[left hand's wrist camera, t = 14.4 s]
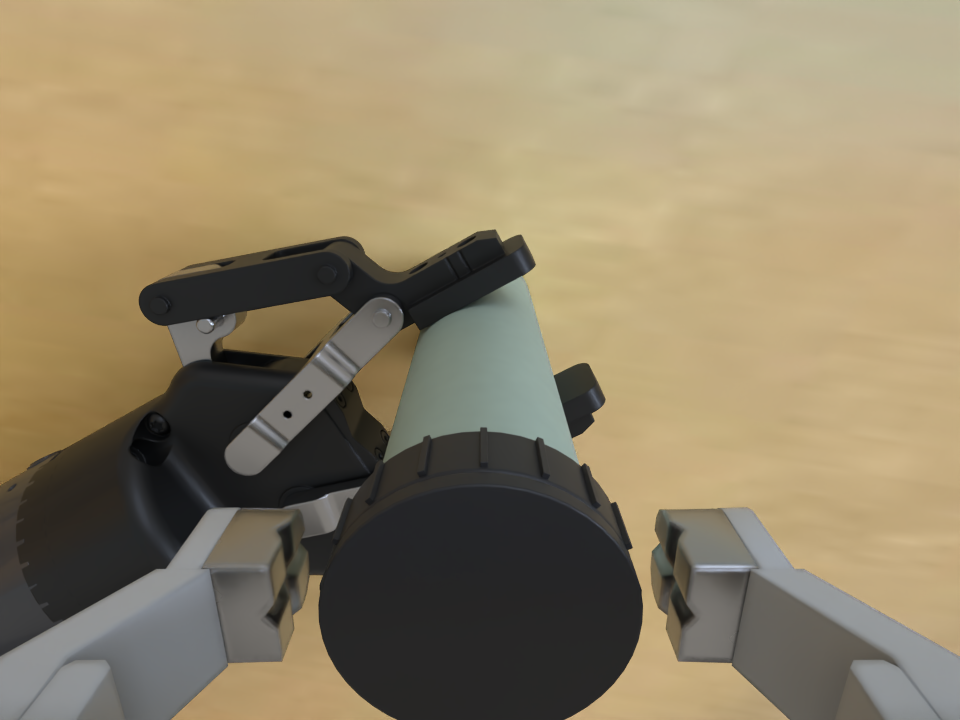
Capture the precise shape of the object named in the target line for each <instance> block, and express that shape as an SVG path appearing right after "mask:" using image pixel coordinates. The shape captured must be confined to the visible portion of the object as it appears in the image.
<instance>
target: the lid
mask: <svg viewBox="0 0 960 720" xmlns="http://www.w3.org/2000/svg"><path fill="white" fill-rule="evenodd" d="M331 543H332V544H334V546H333V548H332V551H331V554H330V557H329V560H328V563H327V566H326V569H325V571H324V574H323V577H322V580H321V583H320V597H319V624H320V629H321V634H322V639H323V641H324V644H325V647H326V649H327V652H328V655H329V657H330V658H331V660H332V662H333V664H334V666H335V667H336V669H337V670H338V672H339V673H340V674H341V676H342V677H343V678H344V680H345V681H346V682H347V683H348V684H349V685H350V686H351V687H352V688H353V689H354V690H355V691H356V692H357V693H358V695H360V696H361V697H362V698H363V699H365V700H366V701H367V702H368V703H370V704H371V705H372V706H374V707H375V708H377V709H379V710H380V711H382V712H384V713H385V714H387V715H388V716H390V717H393V718H395V719H397V720H565V719H567V718H569V717H571V716H573V715H575V714H576V713H578V712H580V711H581V710H583V709H585V708H586V707H588V706H589V705H590V704H592V703H593V702H594V701H595V700H597V699H598V698H599V697H601V696H602V695H603V694H604V693H605V692H606V691H607V690H608V689H609V688H610V687H611V686H612V685H613V684H614V683H615V681H616V680H617V679H618V678H619V676H620V675H621V674H622V672H623V671H624V670H625V668H626V666H627V664H628V663H629V661H630V659H631V657H632V656H633V653H634V650H635V648H636V645H637V643H638V640H639V635H640V630H641V626H642V615H643V603H642V595H641V594H642V590H641V587H640V584H639V581H638V578H637V575H636V572H635V569H634V566H633V563H632V560H631V558H630V554H629V551H628V550H629V549H632V548H633V547H632V544H631V542H630V539H629V536H628V533H627V530H626V528H625V525H624V522H623V519H622V516H621V514H620V511H619V508H618V506H617V503H616V502H614V503H610V501H609V499H608V497H607V495H606V494H605V492H604V491H603V490H602V488H601V487H600V485H599V484H598V483H597V482H596V480H595V479H594V478H593V477H592V474H591V471H590V468H589V466H587V465H586V464H583V465H582V466H580V465H579V464H578V463H576V462H575V461H574V460H573V459H571V458H569V457H568V456H566V455H564V454H563V453H561V452H560V451H558V450H556V449H554V448H552V447H550V446H547V445H545V444H544V440H543V439H542V438H539V437H537V438H536V440H532V439H529V438H526V437H522V436H518V435H513V434H507V433H502V432H488V431H487V427H480V431H474V432H460V433H454V434H448V435H442V436H439V437H436V438H432V439H431V437H430V435H428V436H424V437H423V442H421V443H418V444H416V445H414V446H412V447H409V448H407V449H405V450H403V451H402V452H400V453H398V454H397V455H395V456H393V457H392V458H390V459H389V460H388V461H386V462H385V463H384V462H383V461H382V460H380V461H378V462H377V463H376V466H375V469H374V472H373V473H372V474H371V475H370V476H369V477H368V479H367V480H366V481H365V482H364V483H363V484H362V486H361V487H360V489H359V490H358V491H357V493H356V494H355V496H354V497H353V499H351V498H349V497H348V498H347V500H346V502H345V504H344V507H343V510H342V513H341V516H340V519H339V521H338V524H337V527H336V530H335V533H334V535H333V538H332V541H331Z"/></svg>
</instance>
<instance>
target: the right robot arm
mask: <svg viewBox="0 0 960 720" xmlns="http://www.w3.org/2000/svg"><path fill="white" fill-rule="evenodd" d="M535 265H536V264H535V261H534V259H533V256H532V254H531V252H530V250H529V248H528V246H527V245H526V243H525V241H524V239H523V237H522V235H517V236H514V237H512V238H509V239H507V240H506V241H504V242H502V241H501V239H500V237H499V235H498V233H497V232H496V230H487V231H479V232H476V233H474V234H472V235H471V236H469V237H467V238H465V239H463V240H462V241H460V242H458V243H456V244H454V245H453V246H451V247H449V248H448V249H445V250H444V251H442V252H440V253H438V254H436V255H435V256H433V257H431V258H429V259H427V260H426V261H424V262H422V263H420V264H418V265H417V266H415V267H413V268H411V269H409V270H407V271H404V272H390V271H387V270H385V269H383V268H381V267H380V266H379V265H377V264H376V263H375V262H374V261H373V260H371V259H370V258H369V257H368V256H366V255H365V252H364V249H363V247H362V246H361V244H360V243H359V242H358V241H357V240H355V239H353V238H351V237H347V236H342V237H336V238H331V239H325V240H320V241H315V242H310V243H304V244H299V245H294V246H289V247H283V248H278V249H273V250H268V251H262V252H257V253H252V254H247V255H241V256H236V257H231V258H226V259H220V260H215V261H210V262H205V263H199V264H194V265H190V266H187V267H185V268H183V269H181V270H179V271H177V272H174V273H172V274H170V275H168V276H166V277H164V278H162V279H160V280H158V281H157V282H155V283H153V284H151V285H149V286H147V287H145V288H144V289H143V290H142V292H141V293H140V296H139V306H140V309H141V311H142V313H143V314H144V316H145V317H146V318H147V319H148V320H150V321H151V322H153V323H155V324H157V325H162V326H168V329H169V331H170V334H171V336H172V339H173V341H174V344H175V347H176V349H177V352H178V354H179V357H180V359H181V362H182V365H183V368H181V369H180V370H179V371H178V372H177V373H176V375H175V376H174V377H173V379H172V381H171V384H170V386H169V388H168V390H167V391H166V393H164V394H162V395H160V396H158V397H157V398H155V399H153V400H151V401H150V402H148V403H146V404H144V405H142V406H141V407H139V408H137V409H135V410H133V411H132V412H130V413H128V414H126V415H124V416H123V417H121V418H119V419H117V420H116V421H114V422H112V423H110V424H108V425H107V426H105V427H103V428H101V429H99V430H98V431H96V432H94V433H92V434H91V435H89V436H87V437H85V438H83V439H82V440H80V441H78V442H76V443H74V444H73V445H71V446H69V447H67V448H65V449H64V450H60V451H57V452H54V453H52V454H49V455H47V456H45V457H43V458H41V459H39V460H37V461H35V462H34V463H32V464H31V465H30V467H28V468H27V470H26V471H24V472H23V473H21V474H19V475H17V476H16V477H14V478H12V479H10V480H9V481H7V482H6V483H4V484H2V485H1V486H0V656H2V655H4V654H6V653H7V652H9V651H11V650H13V649H14V648H16V647H18V646H20V645H22V644H23V643H25V642H27V641H29V640H31V639H32V638H34V637H36V636H38V635H39V634H41V633H43V632H45V631H47V630H48V629H50V628H52V627H54V626H56V625H57V624H59V623H61V622H63V621H64V620H66V619H68V618H70V617H72V616H73V615H75V614H77V613H79V612H81V611H82V610H84V609H86V608H88V607H90V606H91V605H93V604H95V603H97V602H98V601H100V600H102V599H104V598H106V597H107V596H109V595H111V594H113V593H115V592H116V591H118V590H120V589H122V588H123V587H125V586H127V585H129V584H131V583H132V582H134V581H136V580H138V579H140V578H141V577H143V576H145V575H147V574H149V573H150V572H152V571H154V570H156V569H166V568H167V566H168V565H169V564H170V562H171V561H172V559H173V558H174V556H175V555H176V554H177V552H178V551H179V549H180V548H181V547H182V545H183V544H184V542H185V541H186V540H187V538H188V537H189V535H190V534H191V533H192V531H193V530H194V528H195V527H196V525H197V524H198V523H199V521H200V520H201V518H202V517H203V516H204V514H205V513H206V512H207V511H208V510H209V509H212V508H281V509H300V511H301V512H302V513H303V518H304V524H305V532H304V534H303V537H302V539H301V542H300V544H301V545H302V546H303V547H304V548H305V549H306V550H307V551H308V556H309V575H323V574H324V571H325V569H326V566H327V563H328V560H329V557H330V554H331V551H332V548H333V546H334V544H332V543H331V541H332V538H333V535H334V533H335V530H336V527H337V524H338V521H339V519H340V516H341V513H342V510H343V507H344V504H345V502H346V500H347V498H348V497H349V498H351V499H353V497H354V496H355V494H356V493H357V491H358V490H359V489H360V487H361V486H362V484H363V483H364V482H365V481H366V480H367V479H368V477H369V476H370V475H371V474H372V473H373V472H374V469H375V466H376V463H377V462H378V461H380V460H382V461H383V459H384V456H385V452H386V449H387V445H388V442H389V438H390V435H391V431H386V430H385V428H384V427H383V426H382V424H381V423H380V422H378V421H377V420H376V419H375V418H374V417H373V416H372V415H370V414H369V413H368V412H367V411H366V410H365V409H364V407H363V405H362V402H361V399H360V396H359V393H358V390H357V388H356V386H355V384H354V383H353V381H352V379H353V378H354V377H355V375H356V374H357V373H358V372H359V371H360V369H361V368H362V367H363V366H365V365H366V364H367V363H368V362H369V361H370V360H371V359H372V358H373V357H374V356H375V355H376V354H377V353H378V352H379V351H380V350H381V349H382V348H383V347H384V346H385V345H386V344H387V343H388V342H389V341H390V340H391V339H392V338H393V337H394V336H395V335H396V334H397V333H398V332H399V331H400V330H402V329H404V328H406V327H408V326H409V325H411V324H413V323H416V325H417V327H418V328H419V330H422V329H424V328H426V327H428V326H429V325H431V324H433V323H435V322H437V321H439V320H440V319H442V318H444V317H445V316H447V315H449V314H452V313H454V312H456V311H457V310H459V309H461V308H463V307H465V306H467V305H469V304H471V303H472V302H474V301H476V300H478V299H480V298H482V297H484V296H486V295H487V294H489V293H491V292H493V291H495V290H497V289H499V288H501V287H502V286H504V285H506V284H508V283H510V282H512V281H514V280H516V279H517V278H519V277H521V276H523V275H525V274H526V273H528V272H529V271H530V270H532V269H533V268H534V267H535ZM326 296H331V297H332V298H334V299H335V300H336V301H337V302H339V303H340V304H341V305H343V306H344V307H345V308H346V309H348V310H349V311H350V313H349V314H348V315H347V316H346V317H344V318H343V319H342V320H341V321H339V322H338V323H337V324H336V325H335V326H334V327H333V328H332V329H331V331H330V332H329V333H328V334H327V335H326V336H325V337H324V338H323V339H322V340H321V341H320V342H319V343H318V344H317V345H316V346H315V347H314V348H313V349H312V350H311V351H310V352H309V353H308V354H307V355H306V356H305V357H304V358H299V357H290V356H281V355H273V354H264V353H255V352H247V351H238V350H229V349H223V347H222V340H223V337H225V336H227V335H229V334H230V333H231V332H233V331H234V330H235V329H236V328H237V327H238V326H240V325H241V324H242V323H243V322H244V321H245V319H246V316H247V311H250V310H255V309H261V308H266V307H272V306H277V305H283V304H288V303H293V302H299V301H304V300H310V299H315V298H321V297H326ZM554 379H555V383H556V386H557V389H558V393H559V396H560V400H561V403H562V407H563V410H564V414H565V417H566V421H567V424H568V428H569V431H570V435H571V438H574V437H576V436H578V435H580V434H582V433H583V432H584V431H585V430H586V429H587V428H588V427H589V426H590V425H591V424H592V423H593V422H594V418H593V416H592V413H593V412H595V411H597V410H598V409H599V408H601V407H602V406H603V404H604V403H605V397H604V395H603V392H602V390H601V388H600V386H599V384H598V381H597V380H596V378H595V376H594V374H593V372H592V370H591V368H590V366H589V365H588V364H587V363H581V364H577V365H575V366H572V367H570V368H568V369H566V370H564V371H562V372H560V373H558V374H556V375H554Z"/></svg>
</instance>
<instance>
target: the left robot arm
mask: <svg viewBox="0 0 960 720" xmlns="http://www.w3.org/2000/svg"><path fill="white" fill-rule="evenodd" d="M304 532H305V524H304V518H303V513H302V512H301V511H300V509H281V508H212V509H209V510H208V511H207V512H206V513H205V514H204V516H203V517H202V518H201V520H200V521H199V523H198V524H197V525H196V527H195V528H194V530H193V531H192V533H191V534H190V535H189V537H188V538H187V540H186V541H185V542H184V544H183V545H182V547H181V548H180V549H179V551H178V552H177V554H176V555H175V556H174V558H173V559H172V561H171V562H170V564H169V565H168V566H167V568H166V569H156V570H154V571H152V572H150V573H149V574H147V575H145V576H143V577H141V578H140V579H138V580H136V581H134V582H132V583H131V584H129V585H127V586H125V587H123V588H122V589H120V590H118V591H116V592H115V593H113V594H111V595H109V596H107V597H106V598H104V599H102V600H100V601H98V602H97V603H95V604H93V605H91V606H90V607H88V608H86V609H84V610H82V611H81V612H79V613H77V614H75V615H73V616H72V617H70V618H68V619H66V620H64V621H63V622H61V623H59V624H57V625H56V626H54V627H52V628H50V629H48V630H47V631H45V632H43V633H41V634H39V635H38V636H36V637H34V638H32V639H31V640H29V641H27V642H25V643H23V644H22V645H20V646H18V647H16V648H14V649H13V650H11V651H9V652H7V653H6V654H4V655H2V656H0V720H171V719H172V718H173V717H174V716H175V715H176V714H177V713H178V712H179V711H180V710H181V709H182V708H183V707H185V706H186V705H187V704H188V703H189V702H190V701H191V700H192V699H193V698H194V697H195V696H196V695H197V694H198V693H200V692H201V691H202V690H203V689H204V688H205V687H206V686H207V685H208V684H209V683H210V682H211V681H212V680H213V679H215V678H216V677H217V676H218V675H219V674H220V673H221V672H222V671H223V670H224V669H225V668H226V667H227V666H228V663H242V662H276V661H282V660H283V657H284V655H285V652H286V649H287V647H288V644H289V641H290V639H291V636H292V633H293V631H294V623H293V614H295V613H296V612H297V611H299V610H300V609H301V608H302V606H303V603H304V600H305V597H306V594H307V588H308V582H309V556H308V551H307V550H306V549H305V548H304V547H303V546H302V545H301V544H300V542H301V539H302V537H303V534H304ZM655 532H656V534H657V537H658V539H659V541H660V544H659V545H658V546H657V547H656V548H655V549H654V550H653V551H652V557H651V584H652V589H653V593H654V597H655V600H656V603H657V606H658V608H659V609H660V610H661V611H663V612H664V613H665V614H667V623H666V631H667V633H668V636H669V639H670V641H671V644H672V646H673V649H674V652H675V654H676V657H677V660H678V661H682V662H718V663H732V666H733V667H734V668H735V669H736V670H737V671H738V672H739V673H740V674H742V675H743V676H744V677H745V678H746V679H747V680H748V681H749V682H750V683H751V684H752V685H753V686H754V687H755V688H757V689H758V690H759V691H760V692H761V693H762V694H763V695H764V696H765V697H766V698H767V699H768V700H769V701H770V702H771V703H773V704H774V705H775V706H776V707H777V708H778V709H779V710H780V711H781V712H782V713H783V714H784V715H785V716H786V717H788V718H789V719H790V720H960V657H959V656H958V655H956V654H954V653H952V652H951V651H949V650H947V649H945V648H943V647H942V646H940V645H938V644H936V643H935V642H933V641H931V640H929V639H927V638H926V637H924V636H922V635H920V634H918V633H917V632H915V631H913V630H911V629H910V628H908V627H906V626H904V625H902V624H901V623H899V622H897V621H895V620H894V619H892V618H890V617H888V616H886V615H885V614H883V613H881V612H879V611H877V610H876V609H874V608H872V607H870V606H869V605H867V604H865V603H863V602H861V601H860V600H858V599H856V598H854V597H853V596H851V595H849V594H847V593H845V592H844V591H842V590H840V589H838V588H837V587H835V586H833V585H831V584H829V583H828V582H826V581H824V580H822V579H820V578H819V577H817V576H815V575H813V574H812V573H810V572H808V571H806V570H804V569H794V568H793V566H792V565H791V563H790V562H789V561H788V559H787V558H786V556H785V555H784V554H783V552H782V551H781V550H780V548H779V547H778V545H777V544H776V543H775V541H774V540H773V538H772V537H771V536H770V534H769V533H768V531H767V530H766V529H765V527H764V526H763V524H762V523H761V522H760V520H759V519H758V517H757V516H756V515H755V513H754V512H753V511H752V510H751V509H749V508H747V507H737V508H718V509H669V510H659V512H658V514H657V517H656V524H655Z"/></svg>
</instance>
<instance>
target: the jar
mask: <svg viewBox="0 0 960 720" xmlns="http://www.w3.org/2000/svg"><path fill="white" fill-rule="evenodd" d="M480 427H487V431H488V432H502V433H507V434H513V435H518V436H522V437H526V438H529V439H532V440H536V438H537V437H539V438H542V439H543V440H544V444H545V445H547V446H550V447H552V448H554V449H556V450H558V451H560V452H561V453H563V454H564V455H566V456H568V457H569V458H571V459H573V460H574V461H575V462H576V463H578V464H579V462H578V459H577V455H576V452H575V448H574V445H573V442H572V438H571V435H570V431H569V428H568V424H567V421H566V417H565V414H564V410H563V407H562V403H561V400H560V396H559V393H558V389H557V386H556V383H555V379H554V376H553V372H552V369H551V365H550V362H549V358H548V355H547V351H546V348H545V344H544V341H543V337H542V334H541V331H540V327H539V324H538V320H537V317H536V313H535V310H534V306H533V303H532V299H531V296H530V292H529V289H528V286H527V284H526V282H525V280H524V278H523V277H522V276H521V277H519V278H517V279H516V280H514V281H512V282H510V283H508V284H506V285H504V286H502V287H501V288H499V289H497V290H495V291H493V292H491V293H489V294H487V295H486V296H484V297H482V298H480V299H478V300H476V301H474V302H472V303H471V304H469V305H467V306H465V307H463V308H461V309H459V310H457V311H456V312H454V313H452V314H449V315H447V316H445V317H444V318H442V319H440V320H439V321H437V322H435V323H433V324H431V325H429V326H428V327H426V328H424V329H422V330H421V331H420V334H419V338H418V341H417V345H416V348H415V352H414V355H413V358H412V362H411V365H410V369H409V372H408V376H407V379H406V383H405V386H404V390H403V393H402V397H401V400H400V404H399V407H398V411H397V414H396V418H395V421H394V425H393V428H392V431H391V435H390V438H389V442H388V445H387V449H386V452H385V456H384V459H383V462H384V463H385V462H386V461H388V460H389V459H390V458H392V457H393V456H395V455H397V454H398V453H400V452H402V451H403V450H405V449H407V448H409V447H412V446H414V445H416V444H418V443H421V442H423V437H424V436H428V435H430V437H431V439H432V438H436V437H439V436H442V435H448V434H454V433H460V432H474V431H480Z"/></svg>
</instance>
